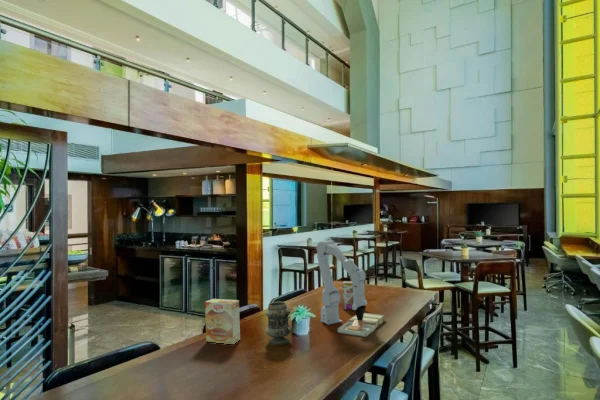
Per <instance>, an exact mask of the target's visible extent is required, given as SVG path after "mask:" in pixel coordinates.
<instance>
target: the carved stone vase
mask: <svg viewBox="0 0 600 400" xmlns="http://www.w3.org/2000/svg"><path fill="white" fill-rule="evenodd" d="M264 313H265V315H266V317H267V322H268V325H267V327H266V328H265V333H266V335H268V336H269V337H270V339H269V341H268V344H269V345H271V346H273V347H274V346H277V347H278V346H279V347H280V346H284V345H287V344H289V343H290V339H289V338H288V337H287V336H288V335H290V334H291V332H292V326H291V325H290V324H289V316H290V314H291V309H290V308H289V307H288V306H287V303H286V302H285V301H274V302H269V303H268V307H267V308H266V310H265V311H264Z"/></svg>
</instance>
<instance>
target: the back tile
mask: <svg viewBox="0 0 600 400" xmlns="http://www.w3.org/2000/svg"><path fill="white" fill-rule="evenodd" d="M364 325H365V323H364V321H361V320H354V322H353V324H352V326H358V327H361V330H362V328H363V326H364Z"/></svg>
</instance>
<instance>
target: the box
mask: <svg viewBox="0 0 600 400" xmlns="http://www.w3.org/2000/svg"><path fill="white" fill-rule="evenodd" d="M352 324H353V322H349V321H347V322H345V323H344V324H342V325H340V326H339V327H337V333H338V334H344V335H351V336H355V337H364V338H367V337H368V336H369V335H371V334H372V333H373V332H374V331H375V330H376V328H375V325H370V324H365V325H364V326H363V328H362V330H361V331H353V330H347V328H349V327H350V326H352Z"/></svg>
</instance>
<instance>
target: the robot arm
mask: <svg viewBox="0 0 600 400" xmlns="http://www.w3.org/2000/svg"><path fill="white" fill-rule="evenodd" d="M315 249H316V251H317V254H316V256H317V257H316V258H317V262H318V265H319V271H320V274H321V279H322V284H323V287H324V288H323V290H322V292H321V302H322V304H323V305H324V306H322V307H320V322H322V323H324V324H326V325H328V326H329V325H333V324H338V323H342V322H343V320H342V319H340V311H339V305H340V302H341V300H342V295H341V293H340V292H339V288H337V287H336V286H335V284H334V279H333V276H332V272H331V267H330V262H329V257H330V255H333V256H334V257H335V258H336V259H337V260H338V261H340V263H341V264H342V268H343V269H344V270H345V271H346V273H347V274H348V275H349V276H350V277H349V278H350V281H352V284H353V296H354V302H353V305H352V311H354V313H355V315H356V316H357V319H358V320H361V321H362V320H363V315H364V313H365V310H366V309H367V305H368V302H367V299H366V298H365V297H366V295H365V294H366V293H365V291H366V290H365V280H366V278H367V274H366V271H365V270H364V269H361V268H360V267H358V266H357V265H356V263H354V261H353V260H352V259H348V258H347V257H346V256H345V255H344V254H343V252H342V251H341V249H340V248H339V247H338V243H336V242H335V240H332V239H329V240H324V241H323V240H321V241H319V242H318V243H317V245H316V246H315Z"/></svg>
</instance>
